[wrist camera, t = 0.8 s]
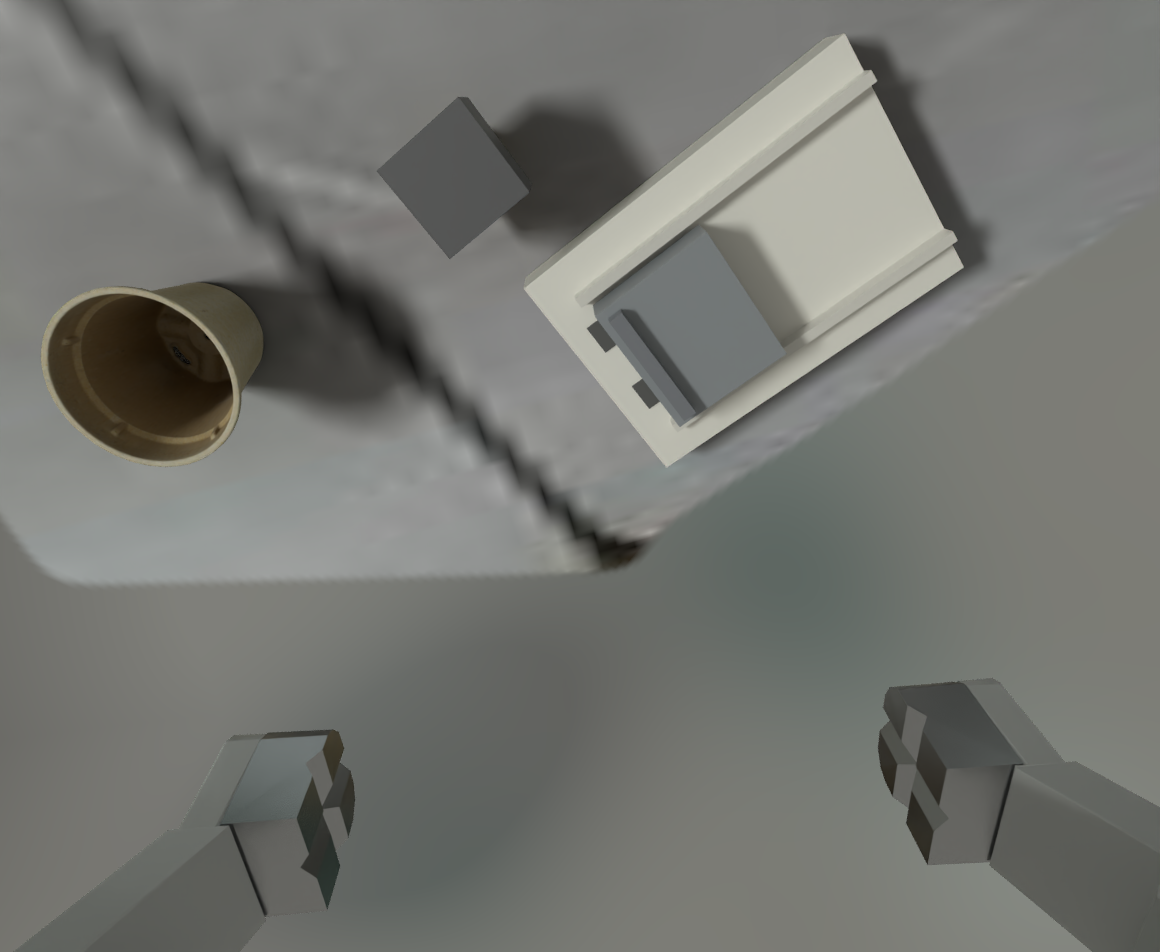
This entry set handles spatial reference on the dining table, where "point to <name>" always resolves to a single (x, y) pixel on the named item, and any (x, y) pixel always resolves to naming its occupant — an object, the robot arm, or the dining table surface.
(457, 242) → the plug
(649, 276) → the cover
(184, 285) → the flower pot
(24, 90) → the dining table surface
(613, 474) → the dining table surface
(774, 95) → the socket plate
